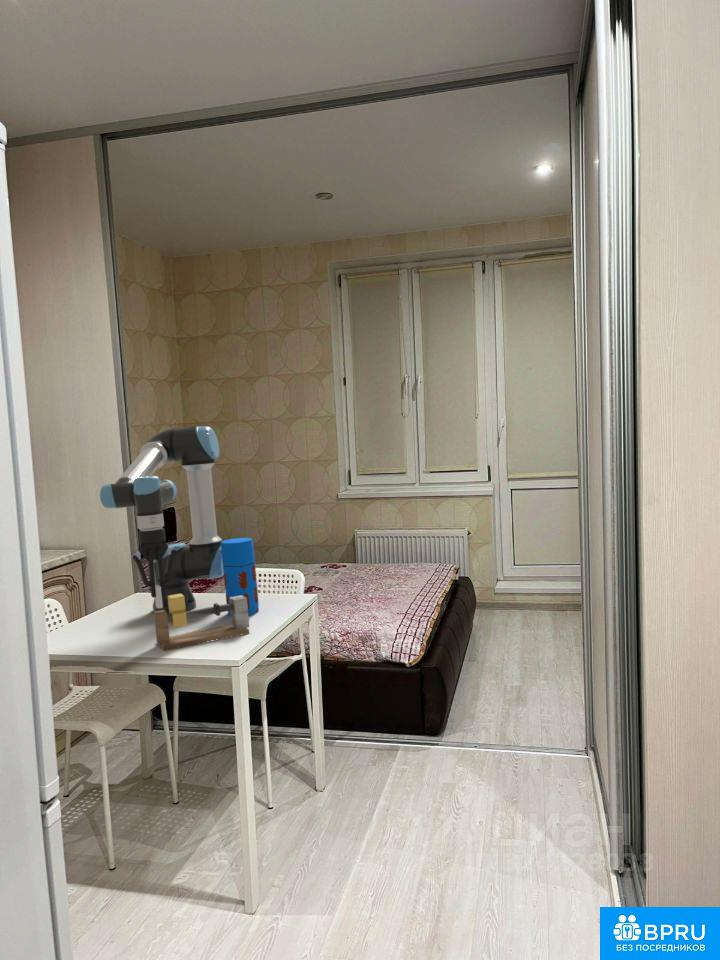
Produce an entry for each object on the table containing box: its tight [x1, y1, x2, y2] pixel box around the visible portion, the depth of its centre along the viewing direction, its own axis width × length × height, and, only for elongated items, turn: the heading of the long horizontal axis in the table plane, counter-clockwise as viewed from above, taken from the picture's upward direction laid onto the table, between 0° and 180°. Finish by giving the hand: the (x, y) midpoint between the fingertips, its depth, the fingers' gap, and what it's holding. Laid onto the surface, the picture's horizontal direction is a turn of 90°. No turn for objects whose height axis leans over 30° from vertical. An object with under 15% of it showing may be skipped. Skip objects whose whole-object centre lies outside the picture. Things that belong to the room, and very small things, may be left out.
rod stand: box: [153, 595, 250, 651], centre depth 229 cm, size 10×28×10 cm, turn 117°
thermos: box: [221, 537, 260, 617], centre depth 257 cm, size 11×11×25 cm
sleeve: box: [168, 594, 188, 629], centre depth 226 cm, size 4×4×9 cm
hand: (159, 607), depth 223 cm, fingers closed
